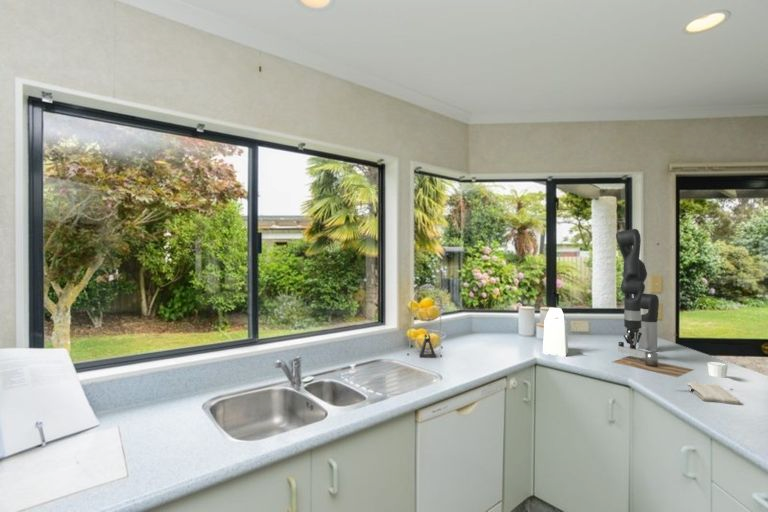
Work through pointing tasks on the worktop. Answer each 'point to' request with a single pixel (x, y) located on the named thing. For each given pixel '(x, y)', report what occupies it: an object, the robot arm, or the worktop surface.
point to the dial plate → (661, 367)
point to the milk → (555, 333)
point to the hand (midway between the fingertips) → (632, 351)
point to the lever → (640, 354)
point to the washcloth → (713, 393)
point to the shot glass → (717, 369)
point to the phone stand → (424, 349)
